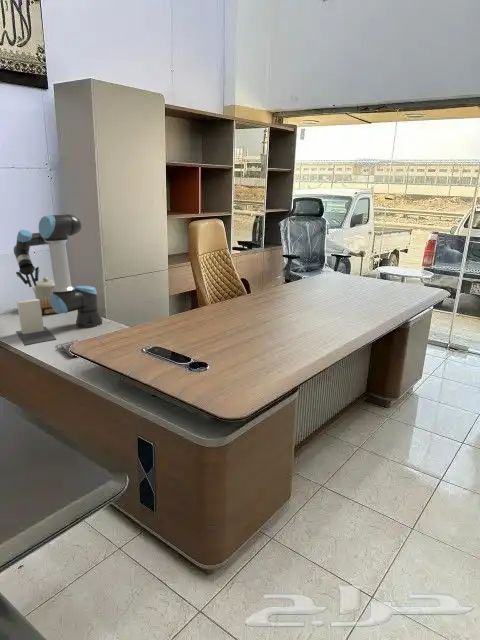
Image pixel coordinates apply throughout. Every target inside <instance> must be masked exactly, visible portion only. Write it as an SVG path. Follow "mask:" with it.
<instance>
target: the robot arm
mask: <svg viewBox="0 0 480 640" xmlns="http://www.w3.org/2000/svg"><path fill="white" fill-rule="evenodd" d="M82 228H83V225H82V222H81V219H79V218H78V217H77V216H76V215H74V214H70V213H69V214H68V213H67V214H50V215H44V216H42V217H41V218H40V220H39V222H38V232H33V233H32V232H31V231H30V230H25V229H20V230H19V231H18V232H17V236H16V244H15V245H14V246H13V254H14V256H15V259H16V262H17V265H18V268H19V271H16V272H15V273H16V276H17V277H18V278H20V280H21V281H22V282H23V283H24V284H25V285H28V286H29V288H31V287H32V292H34V291H36V289H35V286H36V282H37V281H39V274H40V273H39V272H40V267H39V266H36V267H35V266H34V264H33V262H32V259H31V256H30V254H29V252H30V248H31V247H33V246H34V247H35V246H36V247H37V246H44V245H45V246H46V245H48V248H49V255H50V262H51V269H52V276H53V280H54V284H55V288H54V289H53V294H52V295H50V298H49V301H50V304H51V307H52V308H53V310H54V311H55V312H56V313H59V314H61V315H62V314H67V313H71V312H74V311H77V315H76V320H75V323H76V324H75V325H76V327H78V328H86V329H87V328H94V326H95V327H98V326H97V325H99V326H100V324H101V325H103V323H102V322H103V318H102V316H101V313H100V311H99V304H98V303H99V302H98V293H97V289H96V287H95V286H92V285H77V286H75V287H74V286H72V282H71V275H70V274H71V273H70V268H69V267H70V265H69V259H68V252H67V251H68V249H67V245H66V243H68V240H69V238H68V237H70V236H71V237H72V236H75V235H77V234H79V233H81V230H82ZM34 272H35V273H34ZM33 273H34V274H33ZM23 275H24V276H25V277H26V278H25V277H24V276H23ZM29 275H30V277H29ZM30 278H31V280H30ZM59 314H58V315H59Z"/></svg>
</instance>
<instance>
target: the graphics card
mask: <svg viewBox="0 0 480 640" xmlns="http://www.w3.org/2000/svg"><path fill="white" fill-rule="evenodd" d="M76 342H79V341H78V339H77V340H76V339H75V340H73V341H67V342H64V343H60V344H56V345H54V348H56V349H55V352H57V351H62V352H64V353H66V354H67V355H68V356H69V357H73V358H74V357H75V356H74V355H72V354H71V353H70V351H69V348H70V346H71V345H73V344H74V343H76Z"/></svg>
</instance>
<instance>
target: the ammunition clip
mask: <svg viewBox="0 0 480 640" xmlns="http://www.w3.org/2000/svg"><path fill="white" fill-rule="evenodd" d="M41 313H42V317H45V316H51V315H53V316H54V315H59V313H56V312H55V311H54V310H53V308H52V307H51V304H50V303H49V299H48V297H47V303H46V299H45V297H44V304H43V300H42V297H41Z"/></svg>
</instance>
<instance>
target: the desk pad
mask: <svg viewBox="0 0 480 640" xmlns="http://www.w3.org/2000/svg"><path fill="white" fill-rule="evenodd" d="M43 327H44V331H39V332H33V333H28V334H22V331H21V330H17V331H15V334H16V335H17V336H18V338H19V340H21V342H22V343H23V346H24V347H25V346H31V345H35V344H37V345H38V344H40V343H42V344H43V343H47V342H51V341H52V342H53V341H57V338H56V337H55V335H54V334H53V333H52V332H51V331H50V330H49V329H48V328H47V326H43Z"/></svg>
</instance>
